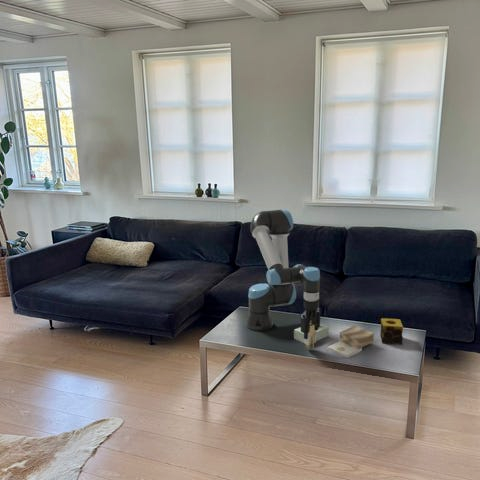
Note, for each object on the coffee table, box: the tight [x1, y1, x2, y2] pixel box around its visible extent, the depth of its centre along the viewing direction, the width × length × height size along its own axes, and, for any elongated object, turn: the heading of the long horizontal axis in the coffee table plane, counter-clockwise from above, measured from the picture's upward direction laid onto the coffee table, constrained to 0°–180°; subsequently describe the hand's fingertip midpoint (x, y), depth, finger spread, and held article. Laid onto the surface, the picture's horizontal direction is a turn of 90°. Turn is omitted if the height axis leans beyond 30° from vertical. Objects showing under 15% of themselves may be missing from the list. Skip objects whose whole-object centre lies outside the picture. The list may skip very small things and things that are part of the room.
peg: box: [305, 322, 315, 350], centre depth 225 cm, size 4×4×12 cm
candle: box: [379, 317, 404, 346], centre depth 235 cm, size 10×10×10 cm
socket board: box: [293, 323, 330, 344], centre depth 241 cm, size 10×16×5 cm, turn 130°
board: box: [326, 340, 363, 359], centre depth 226 cm, size 12×12×2 cm
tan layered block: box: [339, 325, 375, 349], centre depth 231 cm, size 12×12×5 cm
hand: (309, 342), depth 226 cm, fingers closed on peg, 4 cm apart
